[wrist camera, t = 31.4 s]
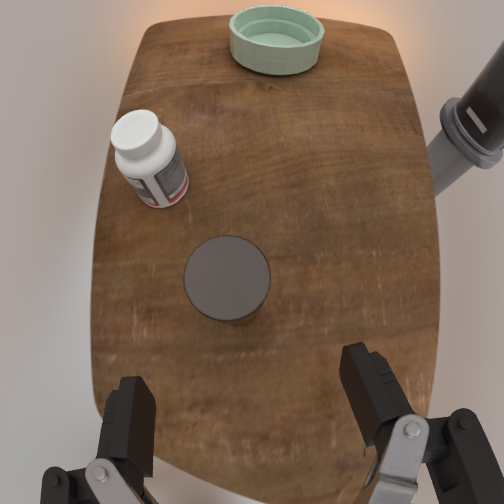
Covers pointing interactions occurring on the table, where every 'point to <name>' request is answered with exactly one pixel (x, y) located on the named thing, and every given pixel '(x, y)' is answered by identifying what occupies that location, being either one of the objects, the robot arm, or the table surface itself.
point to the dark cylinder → (227, 279)
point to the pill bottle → (149, 158)
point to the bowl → (275, 39)
